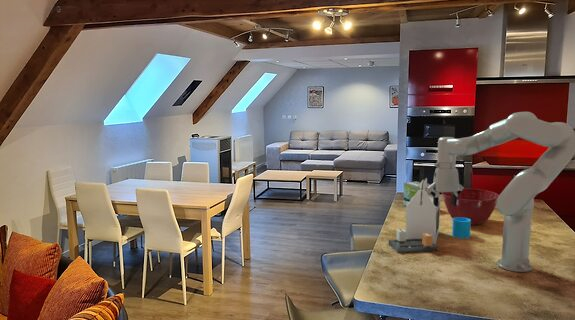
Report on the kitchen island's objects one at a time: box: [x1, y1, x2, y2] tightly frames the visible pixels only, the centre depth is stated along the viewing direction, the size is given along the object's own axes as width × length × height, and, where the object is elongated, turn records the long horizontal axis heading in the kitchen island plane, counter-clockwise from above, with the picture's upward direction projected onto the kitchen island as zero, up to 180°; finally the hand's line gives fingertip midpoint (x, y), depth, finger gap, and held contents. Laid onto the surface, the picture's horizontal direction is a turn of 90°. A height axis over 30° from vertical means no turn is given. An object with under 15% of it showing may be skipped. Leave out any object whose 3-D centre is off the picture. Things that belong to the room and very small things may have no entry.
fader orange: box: [422, 233, 433, 246], centre depth 203 cm, size 4×3×5 cm
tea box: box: [403, 181, 421, 207], centre depth 280 cm, size 15×10×15 cm, turn 25°
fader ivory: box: [395, 228, 406, 242], centre depth 210 cm, size 4×3×5 cm
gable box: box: [405, 177, 441, 245], centre depth 221 cm, size 22×13×28 cm, turn 157°
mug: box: [451, 217, 472, 239], centre depth 225 cm, size 12×8×8 cm
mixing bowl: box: [441, 187, 500, 226], centre depth 248 cm, size 28×28×15 cm
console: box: [388, 238, 439, 254], centre depth 207 cm, size 12×18×2 cm, turn 96°
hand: (444, 205), depth 202 cm, fingers open, 7 cm apart
